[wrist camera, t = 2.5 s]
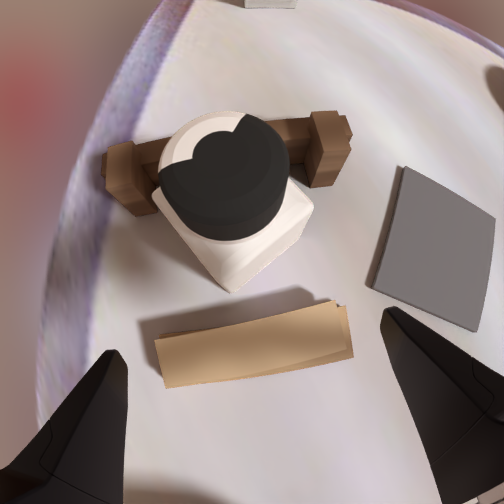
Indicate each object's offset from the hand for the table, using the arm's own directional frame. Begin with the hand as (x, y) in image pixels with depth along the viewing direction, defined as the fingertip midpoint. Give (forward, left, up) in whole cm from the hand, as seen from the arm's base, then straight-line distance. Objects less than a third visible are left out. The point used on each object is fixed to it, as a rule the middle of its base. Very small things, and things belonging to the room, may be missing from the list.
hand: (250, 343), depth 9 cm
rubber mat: (+15, -11, -14) cm, 23 cm away
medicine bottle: (+6, +5, -14) cm, 16 cm away
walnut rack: (+10, +9, -14) cm, 19 cm away
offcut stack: (-1, -1, -14) cm, 14 cm away
